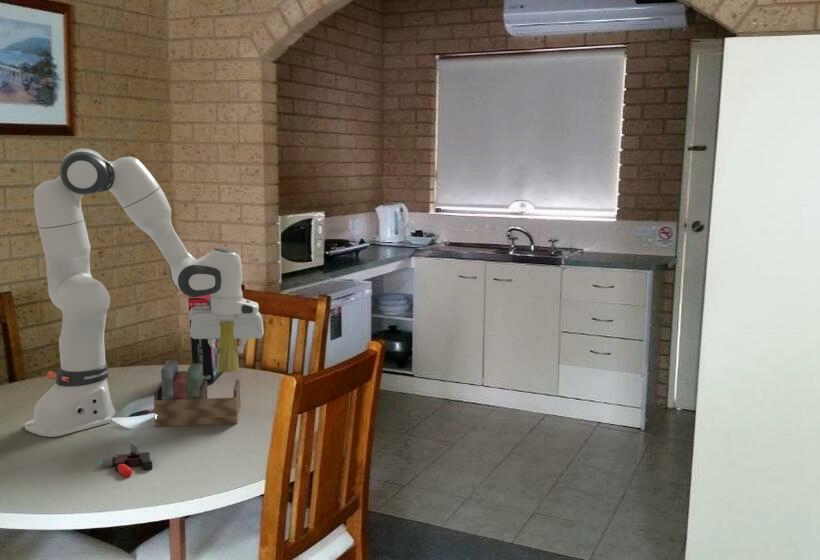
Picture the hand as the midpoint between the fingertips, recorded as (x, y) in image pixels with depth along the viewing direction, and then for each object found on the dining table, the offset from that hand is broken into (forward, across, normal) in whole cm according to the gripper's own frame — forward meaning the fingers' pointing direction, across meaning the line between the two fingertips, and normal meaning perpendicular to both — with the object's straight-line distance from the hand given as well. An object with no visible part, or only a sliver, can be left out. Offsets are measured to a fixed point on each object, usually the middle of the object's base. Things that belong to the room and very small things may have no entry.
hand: (227, 353), depth 216 cm
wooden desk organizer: (+14, -6, -13) cm, 20 cm away
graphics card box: (+14, -8, +25) cm, 30 cm away
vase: (+5, 0, 0) cm, 5 cm away
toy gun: (+15, -18, -44) cm, 51 cm away
